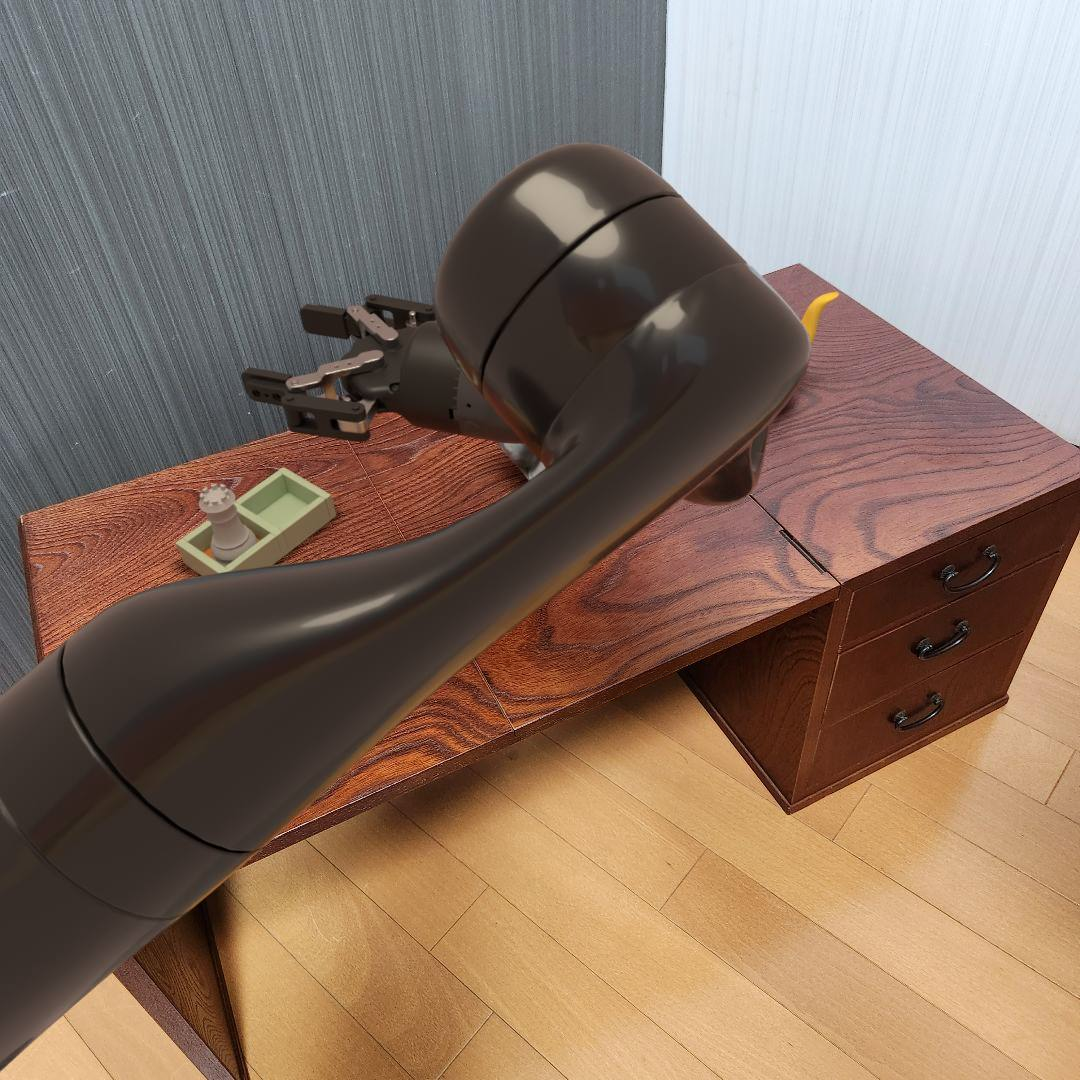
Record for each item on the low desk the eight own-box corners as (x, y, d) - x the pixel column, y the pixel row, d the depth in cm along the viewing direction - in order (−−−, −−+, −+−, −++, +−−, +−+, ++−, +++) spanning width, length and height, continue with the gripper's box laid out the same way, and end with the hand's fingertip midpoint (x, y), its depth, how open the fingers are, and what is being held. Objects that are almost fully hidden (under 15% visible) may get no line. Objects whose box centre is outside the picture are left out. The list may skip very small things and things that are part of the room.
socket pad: (231, 597, 86) (223, 576, 84) (184, 563, 90) (175, 542, 87) (336, 515, 94) (331, 494, 92) (289, 487, 97) (283, 466, 95)
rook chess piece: (270, 551, 90) (249, 490, 84) (232, 578, 87) (207, 517, 81) (242, 530, 92) (219, 469, 86) (204, 556, 89) (178, 495, 84)
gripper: (511, 284, 67) (310, 255, 71) (436, 401, 57) (208, 360, 61) (516, 370, 72) (329, 339, 76) (448, 490, 63) (238, 447, 67)
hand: (275, 348), depth 69 cm, fingers open, 8 cm apart
